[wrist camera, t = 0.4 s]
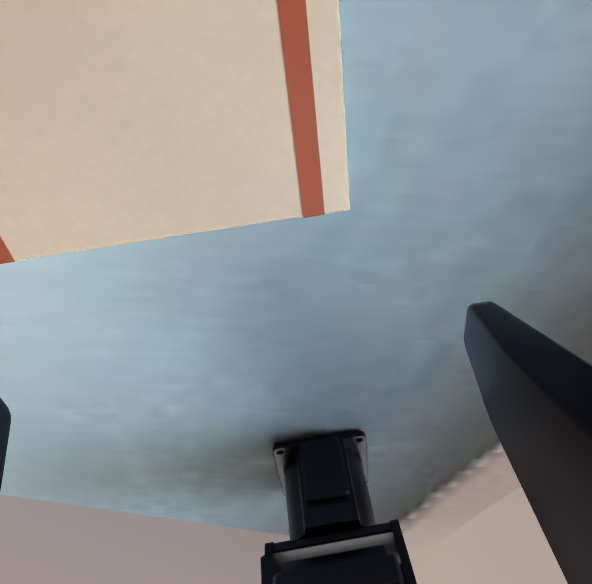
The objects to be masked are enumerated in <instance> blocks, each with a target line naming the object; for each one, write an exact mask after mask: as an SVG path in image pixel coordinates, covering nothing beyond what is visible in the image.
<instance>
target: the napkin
mask: <svg viewBox="0 0 592 584" xmlns="http://www.w3.org/2000/svg"><path fill="white" fill-rule="evenodd" d="M345 210H350V202H349V183H348V164H347V145H346V126H345V107H344V88H343V69H342V50H341V31H340V12H339V0H0V264H3V263H10V262H15V261H16V260H23V259H30V258H36V257H43V256H49V255H56V254H62V253H69V252H75V251H82V250H89V249H95V248H102V247H108V246H115V245H121V244H128V243H135V242H141V241H148V240H154V239H161V238H167V237H174V236H181V235H187V234H194V233H200V232H207V231H213V230H220V229H227V228H233V227H240V226H246V225H253V224H259V223H266V222H273V221H279V220H286V219H292V218H299V217H304V218H305V217H312V216H318V215H325V213H332V212H338V211H345Z"/></svg>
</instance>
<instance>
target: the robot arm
mask: <svg viewBox="0 0 592 584" xmlns="http://www.w3.org/2000/svg"><path fill="white" fill-rule="evenodd" d="M464 342H465V347H466V350H467V353H468V356H469V359H470V362H471V365H472V368H473V371H474V374H475V377H476V380H477V383H478V386H479V389H480V392H481V395H482V398H483V401H484V404H485V407H486V409H487V412H488V415H489V418H490V420H491V422H492V425H493V427H494V429H495V431H496V433H497V436H498V438H499V440H500V442H501V444H502V446H503V448H504V450H505V452H506V454H507V457H508V459H509V461H510V463H511V465H512V467H513V469H514V471H515V473H516V475H517V478H518V480H519V482H520V484H521V486H522V488H523V490H524V492H525V494H526V496H527V498H528V501H529V503H530V505H531V507H532V509H533V511H534V513H535V515H536V517H537V520H538V522H539V524H540V526H541V528H542V530H543V532H544V534H545V536H546V538H547V540H548V543H549V545H550V547H551V549H552V551H553V553H554V555H555V557H556V559H557V562H558V564H559V566H560V568H561V570H562V572H563V574H564V576H565V578H566V580H567V583H568V584H592V365H590V364H589V363H587V362H586V361H584V360H583V359H581V358H579V357H578V356H576V355H575V354H573V353H572V352H570V351H568V350H567V349H565V348H564V347H562V346H561V345H559V344H558V343H556V342H554V341H553V340H551V339H550V338H548V337H547V336H545V335H544V334H542V333H540V332H539V331H537V330H536V329H534V328H533V327H531V326H530V325H528V324H526V323H525V322H523V321H522V320H520V319H519V318H517V317H516V316H514V315H512V314H511V313H509V312H508V311H506V310H505V309H503V308H502V307H500V306H498V305H497V304H495V303H493V302H490V301H487V302H481V303H475V304H471V305H470V306H469V307H468V309H467V315H466V324H465V332H464ZM10 424H11V415H10V411H9V409H8V407H7V406H6V404H5V403H4V402H3V401H2V399H1V398H0V489H1V484H2V477H3V471H4V464H5V457H6V451H7V444H8V437H9V431H10ZM273 454H274V458H275V462H276V466H277V470H278V474H279V478H280V482H281V486H282V490H283V494H284V495H285V496H286V500H287V511H288V522H289V533H290V541H284V542H279V543H273V542H271V543H266V544H265V555H264V556H262V557H261V575H262V577H261V579H262V582H261V584H417V583H416V579H415V576H414V572H413V570H412V565H411V562H410V559H409V555H408V552H407V549H406V545H405V542H404V538H403V535H402V532H401V528H400V525H399V522H398V519H396V520H391V521H390V522H388V523H383V524H377V525H376V523H375V518H374V514H373V509H372V505H371V500H370V496H369V491H368V487H367V482H368V467H367V443H366V436H365V433H364V432H363V431H355V432H349V433H342V434H336V435H329V436H323V437H316V438H310V439H303V440H297V441H290V442H284V443H278V444H276V445H274V446H273Z"/></svg>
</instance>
